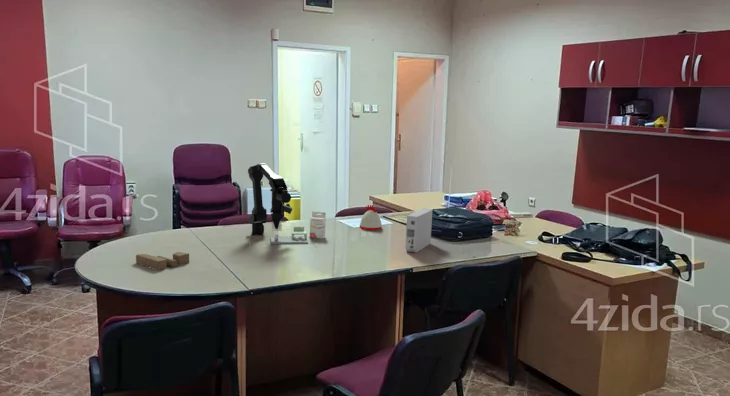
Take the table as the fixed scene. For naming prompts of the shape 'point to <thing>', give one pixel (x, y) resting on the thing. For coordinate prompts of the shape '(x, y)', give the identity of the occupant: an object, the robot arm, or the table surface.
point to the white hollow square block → (278, 227)
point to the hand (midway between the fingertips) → (276, 228)
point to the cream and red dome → (371, 220)
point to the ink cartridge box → (317, 225)
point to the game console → (418, 230)
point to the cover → (299, 231)
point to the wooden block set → (162, 260)
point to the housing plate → (288, 240)
